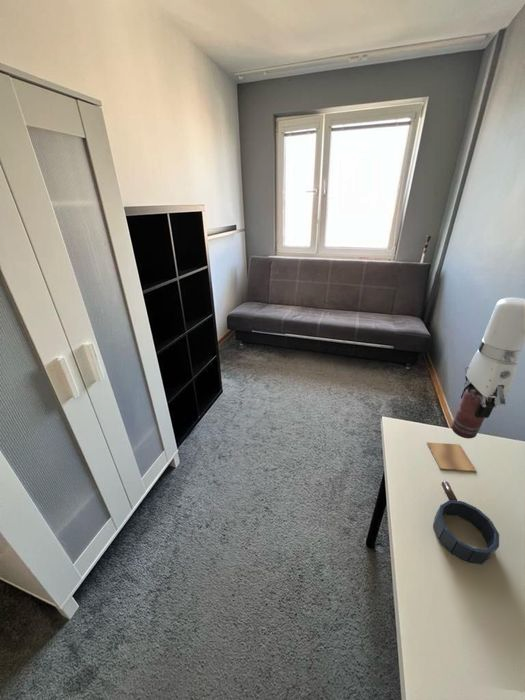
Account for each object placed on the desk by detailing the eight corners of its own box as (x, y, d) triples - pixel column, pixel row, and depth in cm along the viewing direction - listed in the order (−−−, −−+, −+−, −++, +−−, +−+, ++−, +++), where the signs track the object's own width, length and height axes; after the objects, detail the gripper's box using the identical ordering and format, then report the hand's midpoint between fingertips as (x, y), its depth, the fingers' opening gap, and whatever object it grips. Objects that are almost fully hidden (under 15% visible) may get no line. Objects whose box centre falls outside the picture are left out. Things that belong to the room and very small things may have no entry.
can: (455, 438, 78) (472, 399, 71) (447, 422, 83) (462, 384, 76) (480, 441, 76) (499, 402, 69) (470, 425, 82) (488, 386, 75)
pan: (462, 492, 76) (468, 481, 74) (502, 567, 61) (511, 555, 59) (417, 489, 78) (422, 477, 75) (446, 560, 63) (452, 549, 60)
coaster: (459, 445, 90) (459, 444, 90) (476, 471, 82) (476, 471, 82) (426, 443, 92) (427, 442, 91) (439, 469, 83) (440, 468, 83)
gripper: (543, 370, 59) (509, 432, 67) (493, 334, 74) (471, 388, 82) (504, 369, 59) (476, 430, 68) (463, 334, 74) (444, 387, 83)
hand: (473, 407), depth 75 cm, fingers closed on can, 6 cm apart
